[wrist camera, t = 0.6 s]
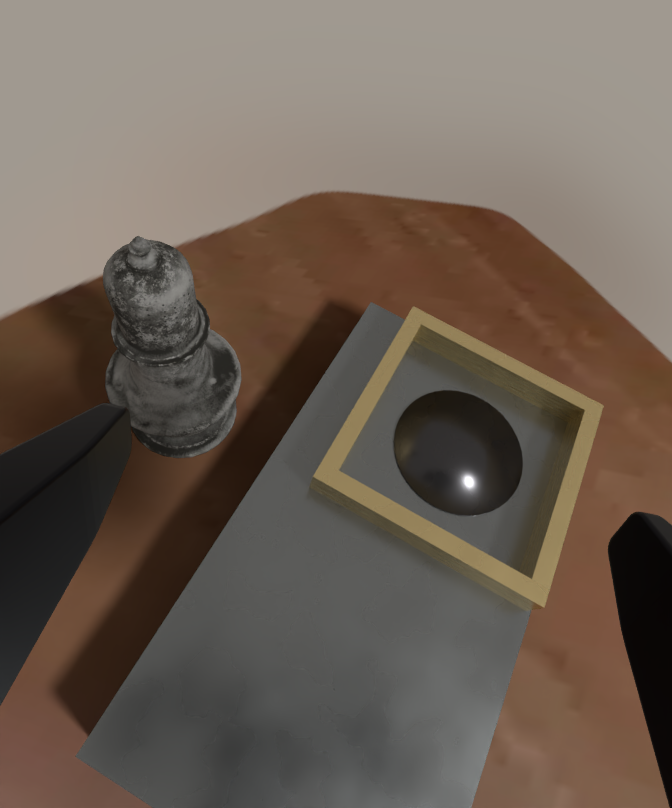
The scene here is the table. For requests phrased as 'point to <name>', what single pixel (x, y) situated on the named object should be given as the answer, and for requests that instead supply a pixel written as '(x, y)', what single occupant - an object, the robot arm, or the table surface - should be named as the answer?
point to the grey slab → (362, 588)
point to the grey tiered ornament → (167, 353)
